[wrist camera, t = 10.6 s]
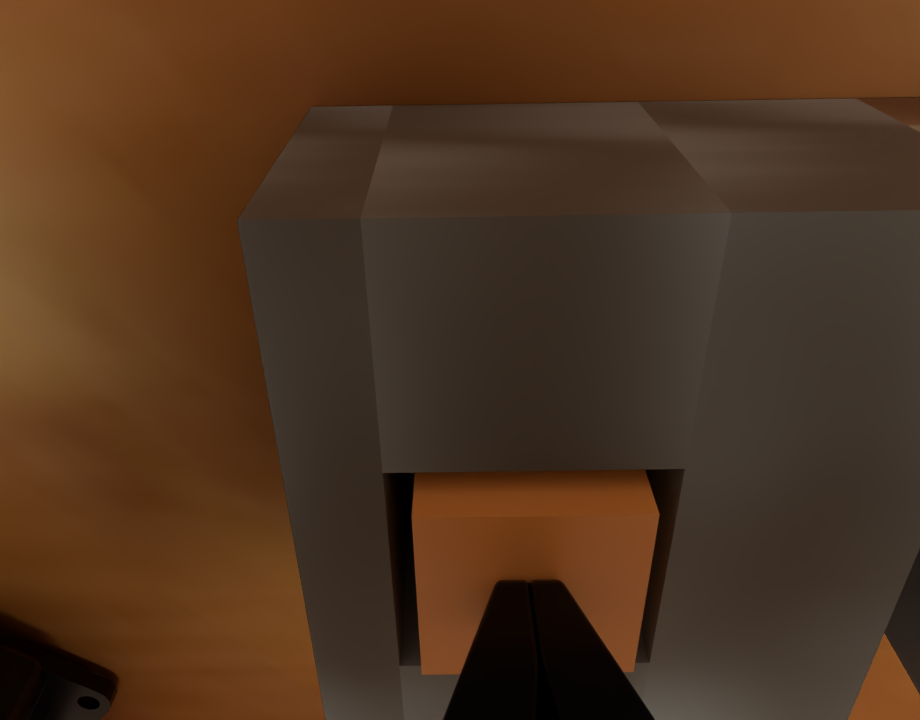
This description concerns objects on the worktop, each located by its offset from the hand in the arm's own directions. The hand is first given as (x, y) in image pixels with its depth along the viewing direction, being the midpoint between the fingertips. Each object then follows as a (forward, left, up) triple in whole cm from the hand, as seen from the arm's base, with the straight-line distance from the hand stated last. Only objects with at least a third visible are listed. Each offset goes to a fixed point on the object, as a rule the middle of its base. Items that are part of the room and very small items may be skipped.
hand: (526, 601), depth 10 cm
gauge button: (0, 0, -4) cm, 4 cm away
